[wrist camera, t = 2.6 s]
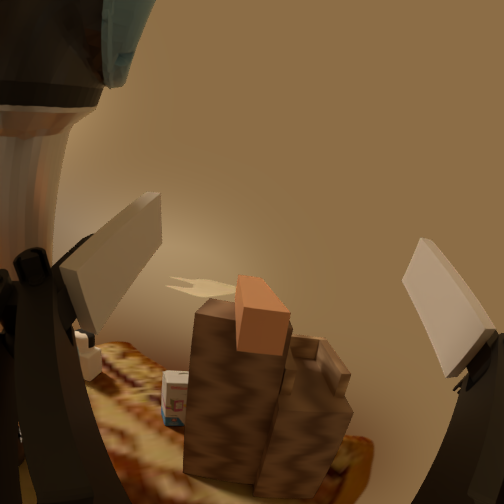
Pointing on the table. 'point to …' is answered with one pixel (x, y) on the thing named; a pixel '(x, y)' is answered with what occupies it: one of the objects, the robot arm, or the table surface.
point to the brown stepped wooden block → (262, 408)
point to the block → (259, 317)
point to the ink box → (174, 397)
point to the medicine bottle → (88, 354)
